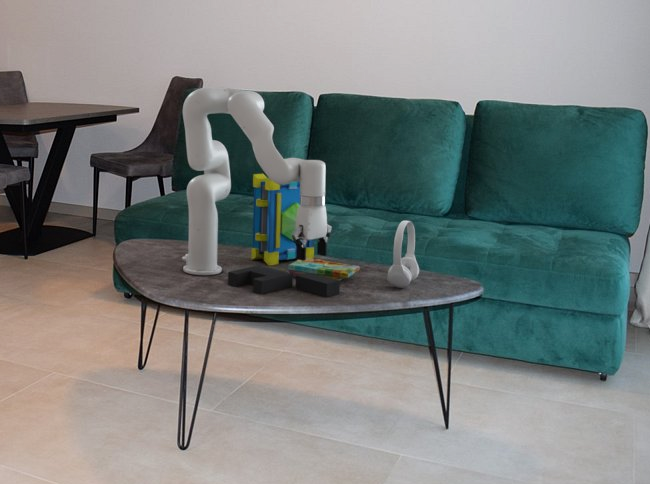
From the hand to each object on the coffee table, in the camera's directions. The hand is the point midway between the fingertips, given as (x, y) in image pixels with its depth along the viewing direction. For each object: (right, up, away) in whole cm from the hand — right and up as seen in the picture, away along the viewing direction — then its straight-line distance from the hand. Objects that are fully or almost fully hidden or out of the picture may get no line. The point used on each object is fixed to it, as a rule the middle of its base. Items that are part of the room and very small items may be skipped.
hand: (311, 257), depth 247 cm
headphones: (+30, -10, +8) cm, 32 cm away
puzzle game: (+6, -9, +15) cm, 18 cm away
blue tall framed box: (-5, -7, +39) cm, 40 cm away
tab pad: (+2, -10, -1) cm, 10 cm away
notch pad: (-15, -9, +4) cm, 18 cm away
